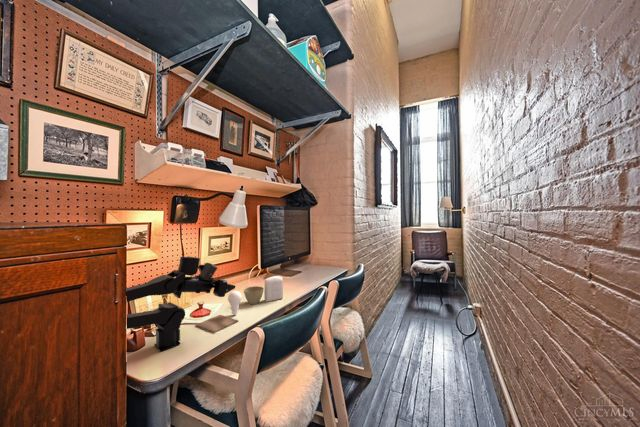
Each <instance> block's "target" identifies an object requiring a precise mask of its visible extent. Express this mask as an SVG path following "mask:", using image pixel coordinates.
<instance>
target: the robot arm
mask: <svg viewBox="0 0 640 427" xmlns="http://www.w3.org/2000/svg"><path fill="white" fill-rule="evenodd" d="M179 258H180V259H179V266H178V269H177V270H176V269H174V270H172V271H171V272H169V273H167V274H163V275H159V276H156V277H154V278H152V279H150V280H148V281H147V282H145V283H141V284H137V285H133V286H130V287H125V288H126V296H127V302H126V303H129V302H132V301H135V300H139V299H142V298H146V297H149V296H150V297H151V296H164V295H171V294H172V295H173V296H174V297H175V298H178V299H180V298H181V297H182V293H195V294H200V293H205V294H211V290H212V289H213V292H212V293H213V295H214V297H219V298H224V297H225V296H226V294H227V293H229V292H232V291H234V290H235V289H236V285H234V284H231V283H228V280H226V279H221V278H219V279H218V278H217V279H214V275H215V273H216V271H217V270H218V266H217V265H215V264H214V263H210V262H204V264H200V262H201V258H200V257H195V256H180V257H179ZM198 271H199V274H198V275H196V274H197V273H198ZM126 315H127V329H126V330H130V329H133V328H135V329H136V328H139V327H140V328H141V327H145V326H151V325H154V327H156V329H155V343H154V347H155V348H156V349H157V350H158V351H159V352H164V351H165V350H169V349H171V348H174V347H177V346H180V345H181V342H180V341H181V329H180V328H181V325H182V323H183V320H184V318H185V316H186V310H185V309H184V308H183V307H181V306H179V305H177V304H175V303H172V302H170V301H169V302H167V303H158V307H157V308H155V309H153V310H147V311H141V312H135V313H130V314H129V313H128V314H126Z"/></svg>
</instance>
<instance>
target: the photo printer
mask: <svg viewBox="0 0 640 427" xmlns="http://www.w3.org/2000/svg"><path fill="white" fill-rule="evenodd" d="M263 294H264V296H263V297H264V298H263V299H264V302H271V301H276V300H281V299H283V298H284V278H283V277H282V276H278V275H277V276H276V275H274V276H269V277H267V278H265V279H264V291H263Z"/></svg>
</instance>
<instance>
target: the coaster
mask: <svg viewBox="0 0 640 427" xmlns="http://www.w3.org/2000/svg"><path fill="white" fill-rule="evenodd" d="M238 322H239V320H238V319H235V318H231V317H228V316H225V315H222V314H219V315H216V316H213V317H212V318H211V317H210V318H208V319H206V320H203V321H202V322H199V323H196V324H195V326H194V327H196V328H199V329H202V330H204V331H207V332H211V333H213V334H216V333H218V332H221V331H222V330H224V329H227V328H228V327H230V326H232V325H235V324H237V323H238Z"/></svg>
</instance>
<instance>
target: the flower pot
mask: <svg viewBox="0 0 640 427" xmlns="http://www.w3.org/2000/svg"><path fill="white" fill-rule="evenodd" d="M264 290H265V287H263V286H257V285H256V286H255V285H254V286H249V287H246V288H244V289H243V294H244V297H245V299H246V301H247V302H248V304H250V305H257V304H259V302H261V299H262V297H263V294H264Z"/></svg>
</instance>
